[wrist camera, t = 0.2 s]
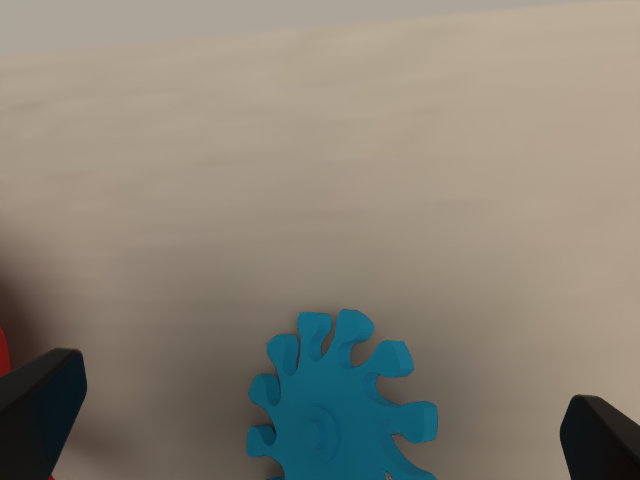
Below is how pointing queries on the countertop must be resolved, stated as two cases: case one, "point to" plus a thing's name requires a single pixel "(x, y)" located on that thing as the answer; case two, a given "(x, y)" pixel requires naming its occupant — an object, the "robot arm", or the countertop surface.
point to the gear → (337, 406)
